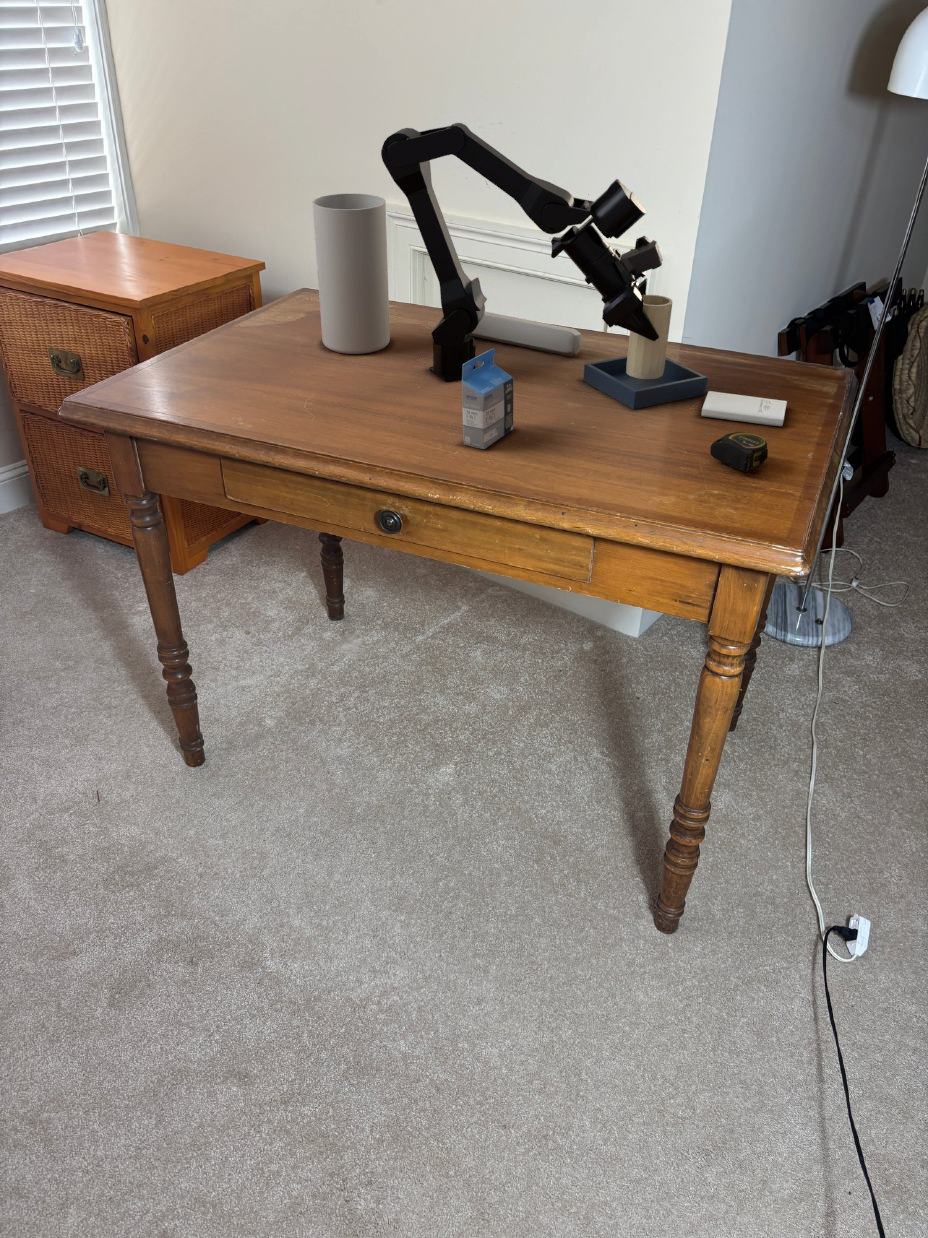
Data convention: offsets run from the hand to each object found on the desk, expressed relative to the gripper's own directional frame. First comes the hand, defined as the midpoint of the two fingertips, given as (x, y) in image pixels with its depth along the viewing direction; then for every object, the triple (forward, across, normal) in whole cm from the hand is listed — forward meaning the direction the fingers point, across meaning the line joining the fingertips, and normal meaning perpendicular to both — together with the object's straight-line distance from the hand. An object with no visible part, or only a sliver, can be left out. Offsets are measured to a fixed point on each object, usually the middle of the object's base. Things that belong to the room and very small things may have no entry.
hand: (657, 332), depth 160 cm
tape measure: (+16, -29, -3) cm, 33 cm away
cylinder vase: (-32, +11, +46) cm, 57 cm away
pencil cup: (+4, 0, +6) cm, 7 cm away
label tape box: (-10, -26, +23) cm, 36 cm away
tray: (+6, 0, +8) cm, 9 cm away
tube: (-11, +18, +24) cm, 32 cm away
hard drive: (+17, -8, -4) cm, 19 cm away
